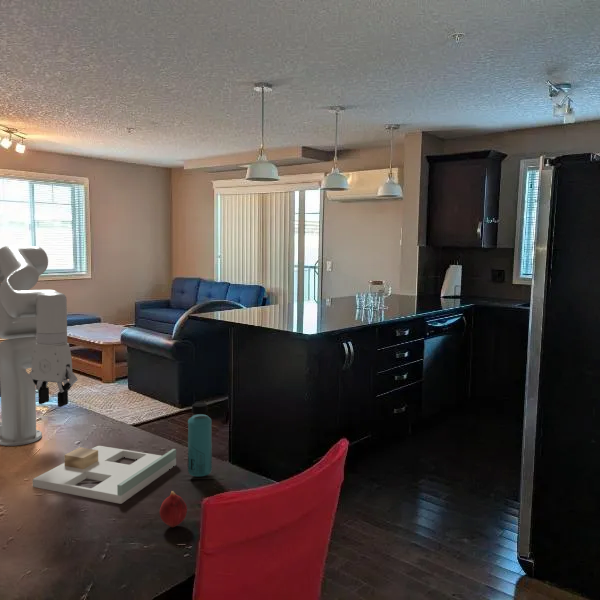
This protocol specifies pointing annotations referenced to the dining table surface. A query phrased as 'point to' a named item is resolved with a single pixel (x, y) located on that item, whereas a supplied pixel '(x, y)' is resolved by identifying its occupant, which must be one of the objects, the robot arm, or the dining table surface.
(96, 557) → the dining table surface
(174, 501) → the onion
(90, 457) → the block
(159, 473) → the board
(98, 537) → the dining table surface
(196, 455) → the beverage bottle
